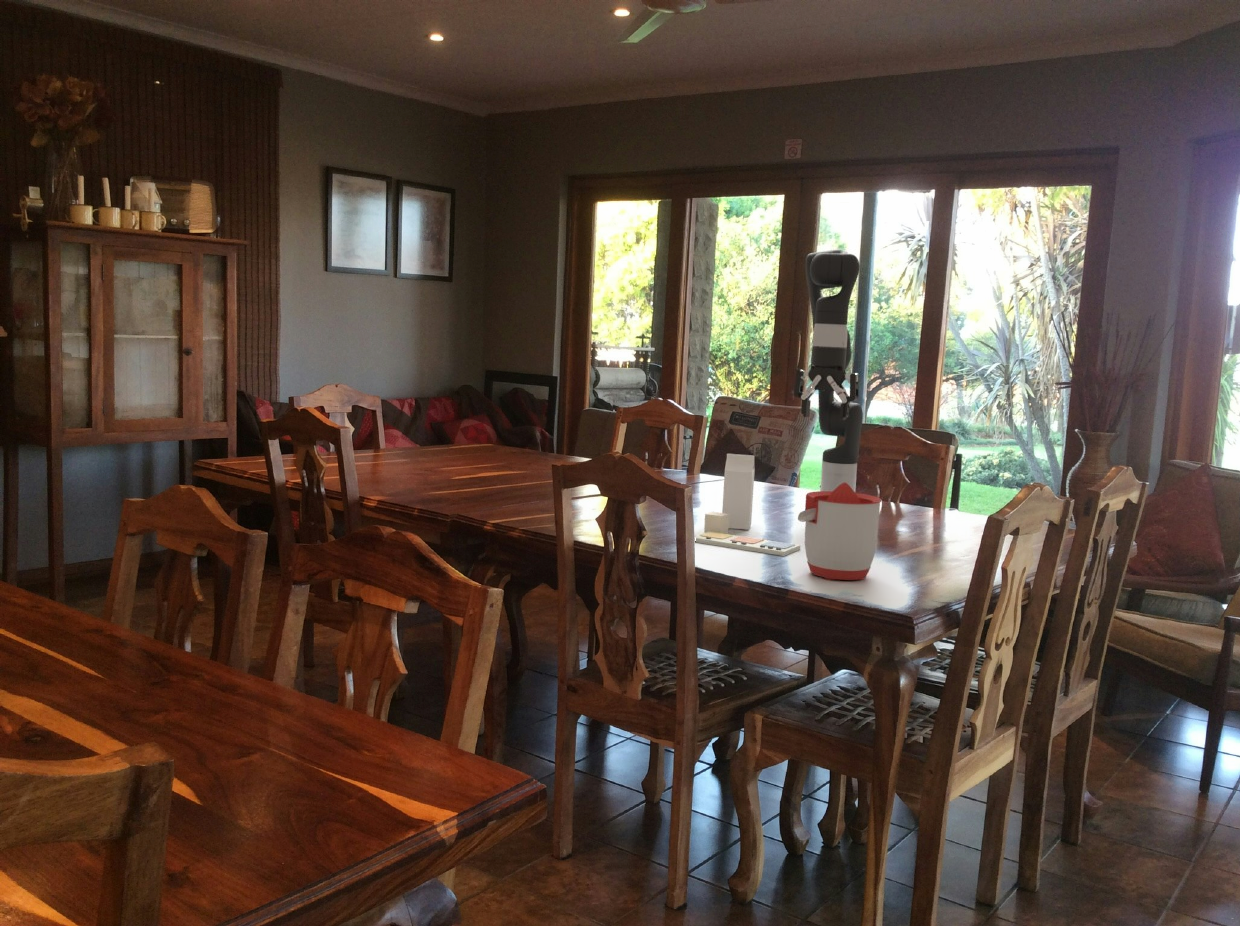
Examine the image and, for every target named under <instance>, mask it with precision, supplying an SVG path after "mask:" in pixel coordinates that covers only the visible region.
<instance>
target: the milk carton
mask: <svg viewBox="0 0 1240 926" xmlns="http://www.w3.org/2000/svg"><path fill="white" fill-rule="evenodd" d="M755 457H756V456H755V455H753V454H752V455H751V454H750V455H749V454H739V453H738V454H736V453H726V460H725V467H724V475H723V476H724V479H723V494H722V496H723V497H722V512H721V513H725V514H729V527H728V529H734V530H735V529H736V530H746V531H747V530H750V529H751V527H752V516H753V514H752V513H753V504H754V503H753V501H754V488H755V487H754V485H755V484H754V483H755V470H756V469H755Z"/></svg>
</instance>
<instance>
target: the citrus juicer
mask: <svg viewBox="0 0 1240 926" xmlns="http://www.w3.org/2000/svg"><path fill="white" fill-rule="evenodd" d="M882 501H883V500H882V499H881V498H880V497H878V496H876V495H875V496H874V495H871V494H864V493H857V492H856V491H855V492H854V491H853V489H852V488H851V487H850V486H849V485H848V484H847V483H845V482H844V483H842V484H840V485H839V486H838V487H837V488H836V489H835V490H834V491H820V490H819V491H812V492H807V493H806V494H805V509H804V510H803V511H800V512H799V513H798V515H797V516H798V517H797V521H798V522H801V523H804V522H805V526H804V546H805V547H804V549H805V555H806V559H807V565H808V568H809V571H810V573H812V574H813V575H815V576H818V577H821V578H825V579H826V580H829V581H835V580H845V581H851V580H852V581H854V580H857V581H861V580H863V579H865V578H866V577H867V575H868V573H869V571H870V570H871V567H872V563H873V561H874V557H875V554H876V550H877V543H878V536H879V535H878V534H879V521H880V520H879V519H880V508H881V507H880V506H881V503H882Z"/></svg>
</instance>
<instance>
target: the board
mask: <svg viewBox="0 0 1240 926" xmlns="http://www.w3.org/2000/svg"><path fill="white" fill-rule="evenodd" d="M695 536H696V542H695V543H698V544H699V543H700V544H705V545H710V546H711V545H712V546H718V547H724V548H731V549H737V550H743V551H750V552H755V553H756V552H757V553H762V554H768V555H775V556H782V557H786V556H787V555H790V554H792V553H796V552H797V551H799V550H801V545H800V544H794V543H788V542H781V541H775V540H769V539H761V538H754V537H749V536H741V535H736V534H735V535H734V534H729V533H728V534H723V533H716V532H706V533H704V532H703V533H701V534H697V535H695Z"/></svg>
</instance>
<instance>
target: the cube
mask: <svg viewBox="0 0 1240 926" xmlns="http://www.w3.org/2000/svg"><path fill="white" fill-rule="evenodd" d="M728 527H729V514H725V513H722V512H716V511H711V512H707V513H705V514H704V527H703V528H704V529H703V533H706V532H716V533H723V534H729V528H728Z"/></svg>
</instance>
